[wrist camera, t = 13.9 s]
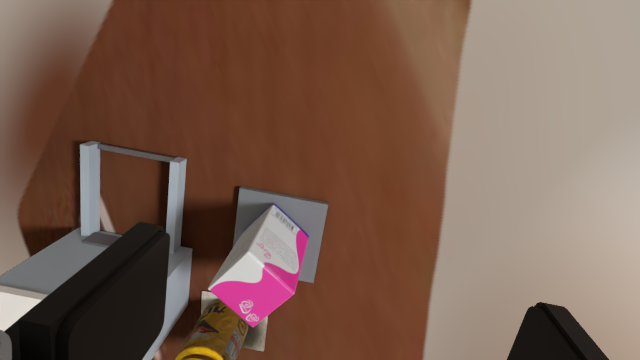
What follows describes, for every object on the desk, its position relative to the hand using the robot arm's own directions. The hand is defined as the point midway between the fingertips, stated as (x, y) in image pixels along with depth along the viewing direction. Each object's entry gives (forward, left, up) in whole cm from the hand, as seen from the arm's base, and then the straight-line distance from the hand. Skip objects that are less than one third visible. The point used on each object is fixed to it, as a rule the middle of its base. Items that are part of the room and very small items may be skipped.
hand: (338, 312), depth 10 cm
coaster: (+15, -6, -34) cm, 37 cm away
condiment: (+28, -10, -34) cm, 45 cm away
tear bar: (+8, -23, -34) cm, 41 cm away
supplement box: (+14, -6, -33) cm, 36 cm away
